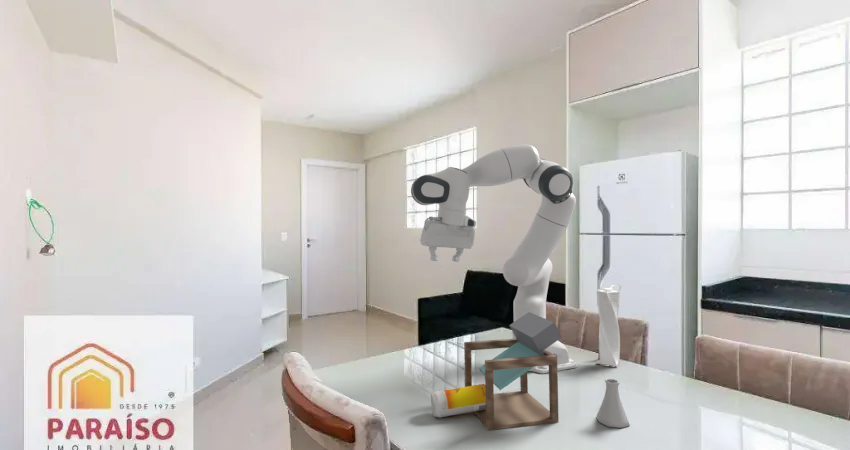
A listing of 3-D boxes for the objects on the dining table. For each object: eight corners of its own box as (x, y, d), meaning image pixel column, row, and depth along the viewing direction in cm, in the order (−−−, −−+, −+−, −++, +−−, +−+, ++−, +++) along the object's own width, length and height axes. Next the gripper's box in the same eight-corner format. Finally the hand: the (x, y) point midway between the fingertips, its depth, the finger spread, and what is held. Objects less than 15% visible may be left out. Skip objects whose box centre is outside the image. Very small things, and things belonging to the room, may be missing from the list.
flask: (591, 415, 102) (590, 376, 103) (619, 414, 103) (618, 375, 103) (606, 429, 95) (605, 386, 95) (635, 428, 96) (634, 385, 96)
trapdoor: (539, 330, 116) (528, 311, 116) (566, 343, 103) (554, 322, 102) (480, 371, 112) (469, 352, 112) (500, 390, 99) (487, 368, 98)
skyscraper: (624, 362, 143) (622, 283, 144) (621, 369, 136) (619, 286, 137) (598, 359, 147) (596, 282, 148) (595, 365, 141) (593, 284, 141)
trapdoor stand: (525, 393, 117) (524, 337, 117) (558, 421, 99) (557, 356, 100) (465, 399, 113) (464, 342, 114) (488, 430, 96) (487, 362, 96)
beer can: (485, 378, 107) (430, 387, 104) (493, 396, 102) (435, 406, 99) (484, 394, 110) (430, 404, 107) (492, 413, 104) (435, 423, 102)
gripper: (432, 217, 121) (425, 262, 122) (479, 222, 134) (473, 263, 135) (419, 214, 126) (413, 258, 127) (466, 220, 139) (460, 259, 140)
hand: (444, 261), depth 131 cm, fingers open, 8 cm apart
